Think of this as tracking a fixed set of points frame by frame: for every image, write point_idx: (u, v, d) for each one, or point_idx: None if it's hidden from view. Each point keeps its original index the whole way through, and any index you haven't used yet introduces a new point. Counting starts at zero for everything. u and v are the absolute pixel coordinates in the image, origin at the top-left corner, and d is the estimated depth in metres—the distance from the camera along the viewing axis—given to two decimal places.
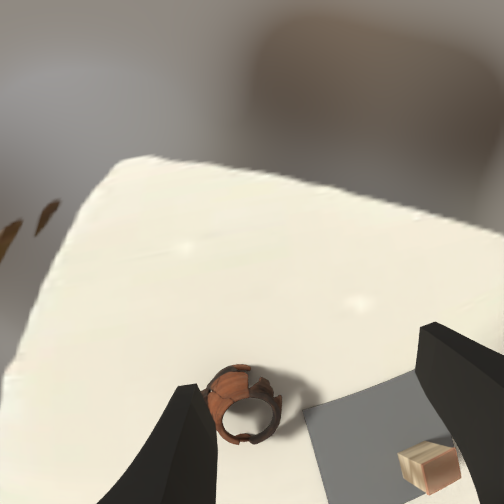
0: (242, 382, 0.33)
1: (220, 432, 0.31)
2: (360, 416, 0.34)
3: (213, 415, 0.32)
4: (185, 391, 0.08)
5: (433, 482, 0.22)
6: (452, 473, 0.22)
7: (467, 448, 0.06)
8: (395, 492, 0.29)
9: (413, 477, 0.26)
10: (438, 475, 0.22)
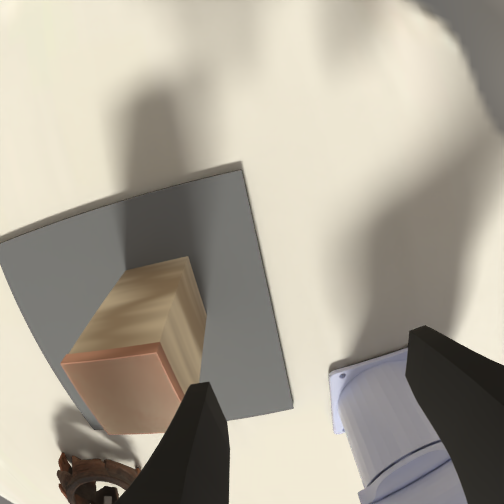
0: (66, 496, 0.20)
1: None
2: None
3: None
4: (198, 389, 0.08)
5: (156, 421, 0.11)
6: (135, 377, 0.10)
7: (456, 454, 0.06)
8: (238, 329, 0.20)
9: None
10: (137, 410, 0.11)
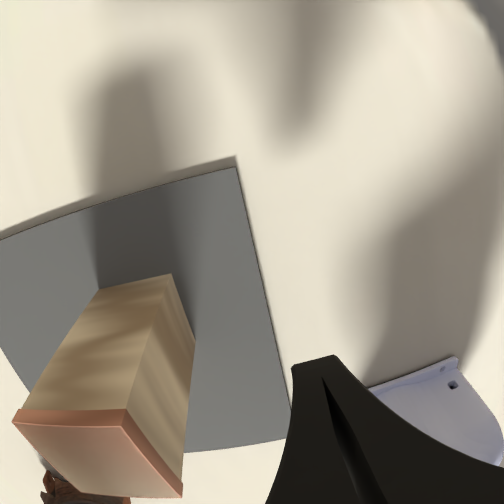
0: None
1: None
2: None
3: None
4: (306, 367, 0.08)
5: (133, 487, 0.08)
6: (99, 447, 0.07)
7: None
8: (233, 356, 0.17)
9: None
10: (108, 476, 0.07)
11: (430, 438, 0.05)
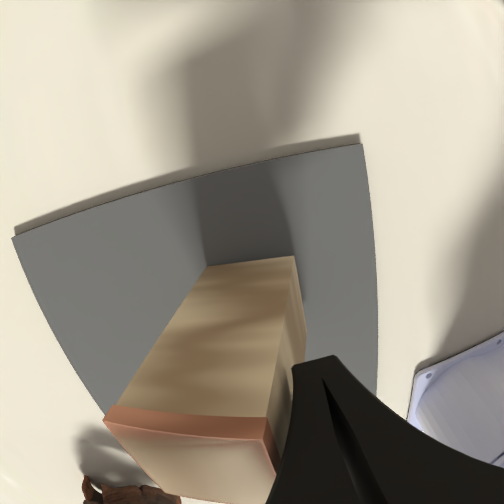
0: None
1: None
2: None
3: None
4: (306, 367, 0.08)
5: (237, 496, 0.07)
6: (218, 458, 0.06)
7: None
8: (338, 333, 0.17)
9: None
10: (212, 484, 0.07)
11: (430, 438, 0.05)
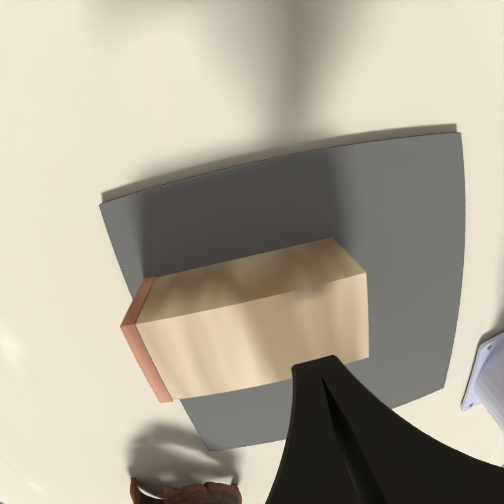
0: None
1: None
2: None
3: None
4: (306, 367, 0.08)
5: None
6: None
7: None
8: (431, 303, 0.16)
9: None
10: None
11: (430, 438, 0.05)
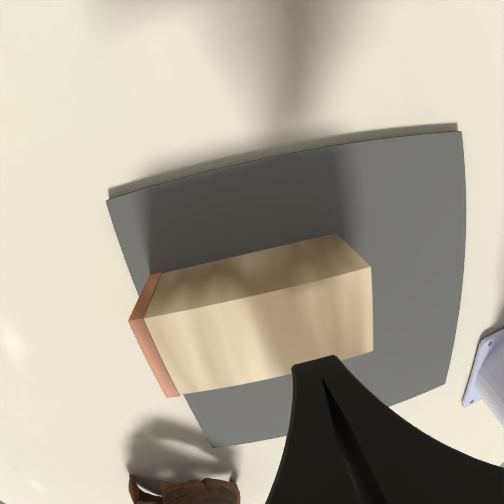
0: None
1: None
2: None
3: None
4: (306, 368, 0.08)
5: None
6: None
7: None
8: (433, 299, 0.17)
9: None
10: None
11: (430, 438, 0.05)
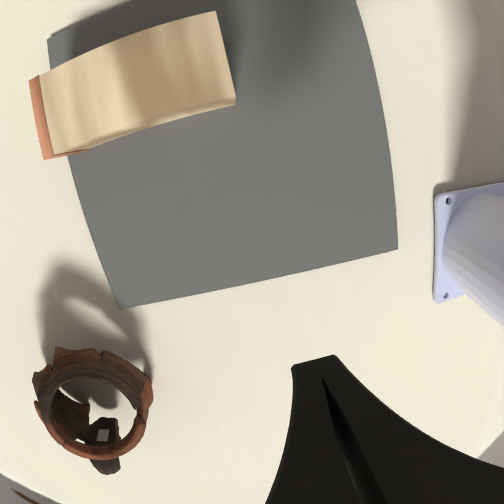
0: None
1: (125, 451, 0.17)
2: (129, 196, 0.17)
3: None
4: (306, 367, 0.08)
5: None
6: None
7: None
8: (345, 113, 0.16)
9: (136, 126, 0.13)
10: None
11: (430, 438, 0.05)
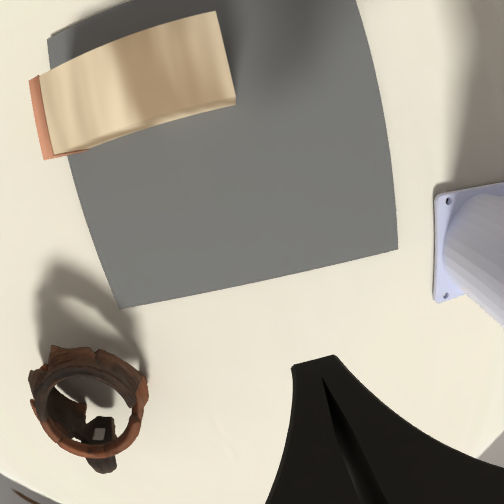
0: None
1: (120, 450, 0.17)
2: (129, 196, 0.17)
3: None
4: (306, 367, 0.08)
5: None
6: None
7: None
8: (345, 113, 0.16)
9: (136, 126, 0.13)
10: None
11: (430, 438, 0.05)
